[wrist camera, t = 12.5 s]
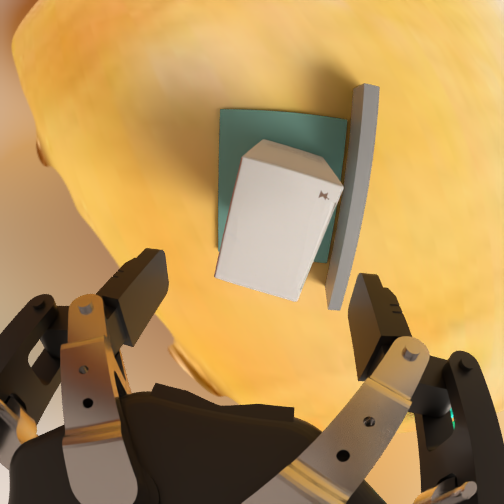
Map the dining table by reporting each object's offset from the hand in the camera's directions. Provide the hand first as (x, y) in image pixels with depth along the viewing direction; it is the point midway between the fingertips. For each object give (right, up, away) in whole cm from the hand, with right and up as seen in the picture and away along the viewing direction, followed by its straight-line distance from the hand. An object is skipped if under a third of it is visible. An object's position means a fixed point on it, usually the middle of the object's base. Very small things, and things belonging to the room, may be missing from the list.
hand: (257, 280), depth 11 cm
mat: (+2, +7, +14) cm, 16 cm away
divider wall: (+9, +6, +13) cm, 17 cm away
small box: (+2, +7, +13) cm, 15 cm away
